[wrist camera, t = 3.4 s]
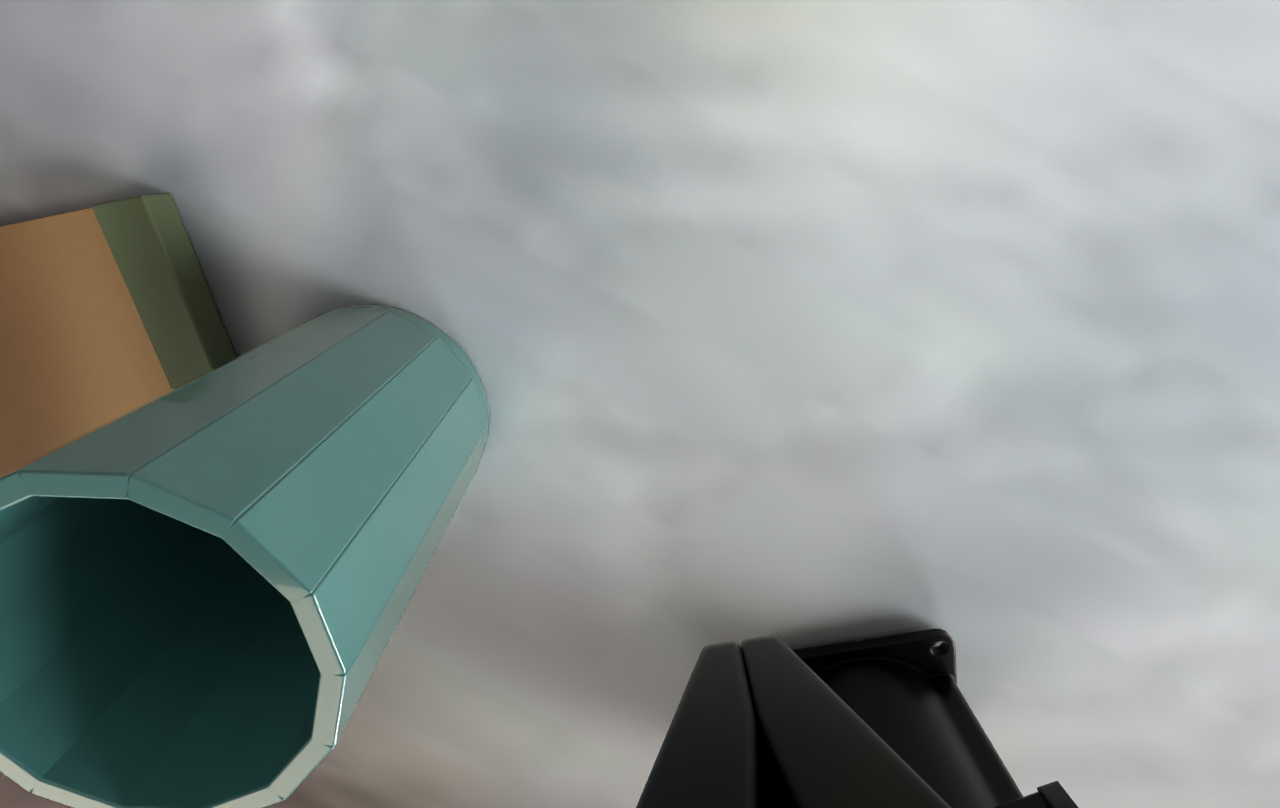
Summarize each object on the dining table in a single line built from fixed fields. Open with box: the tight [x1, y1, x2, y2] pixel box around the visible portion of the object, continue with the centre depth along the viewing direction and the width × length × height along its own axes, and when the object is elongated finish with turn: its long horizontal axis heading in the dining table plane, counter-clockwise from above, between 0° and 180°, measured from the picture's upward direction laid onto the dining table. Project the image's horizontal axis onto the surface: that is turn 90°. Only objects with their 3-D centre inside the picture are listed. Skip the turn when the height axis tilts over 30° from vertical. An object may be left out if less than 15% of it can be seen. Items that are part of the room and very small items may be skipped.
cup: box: [0, 305, 489, 808], centre depth 15 cm, size 6×6×11 cm
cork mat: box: [0, 193, 236, 475], centre depth 21 cm, size 13×14×1 cm
